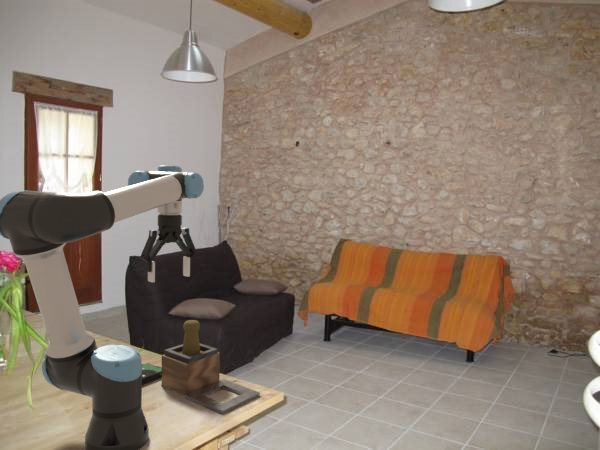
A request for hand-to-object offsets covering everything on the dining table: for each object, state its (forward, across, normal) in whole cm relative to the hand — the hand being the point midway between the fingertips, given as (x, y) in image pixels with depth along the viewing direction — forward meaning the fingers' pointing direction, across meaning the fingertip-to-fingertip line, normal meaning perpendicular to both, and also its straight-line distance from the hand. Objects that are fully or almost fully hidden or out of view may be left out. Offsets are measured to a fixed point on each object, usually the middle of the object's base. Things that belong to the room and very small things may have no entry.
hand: (169, 278), depth 159 cm
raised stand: (+34, +3, -8) cm, 35 cm away
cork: (+24, +3, -8) cm, 26 cm away
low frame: (+34, +4, -23) cm, 41 cm away
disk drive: (+35, -6, +8) cm, 36 cm away
